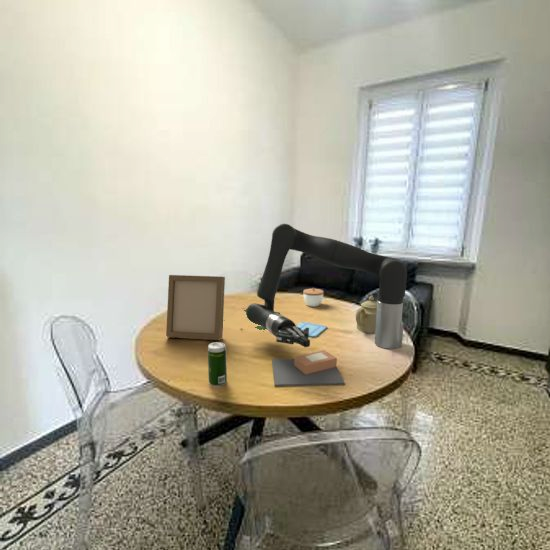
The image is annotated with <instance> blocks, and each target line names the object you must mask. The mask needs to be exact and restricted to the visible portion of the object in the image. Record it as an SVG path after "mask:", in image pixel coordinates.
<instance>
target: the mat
mask: <svg viewBox="0 0 550 550" xmlns="http://www.w3.org/2000/svg"><path fill="white" fill-rule="evenodd" d="M271 364H272V366H271V367H272V373H273V374H272V375H273V384H274V385H273V386H274V387H298V386H299V387H301V386H302V387H303V386H306V387H307V386H334V385H335V386H336V385H337V386H339V385H342V386H343V385H345V384H346V382H345V381H344V379H343V376H342V374H341V373H340V371H339V368H338V366H337V365H336V367H333V368H329V369H325V370H321V371H317V372H313V373H309V374H306V375H305V374H304V373H303V372H302V371H301V370H299V369H298V368H297V367H296V366H294V358H272V359H271Z"/></svg>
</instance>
